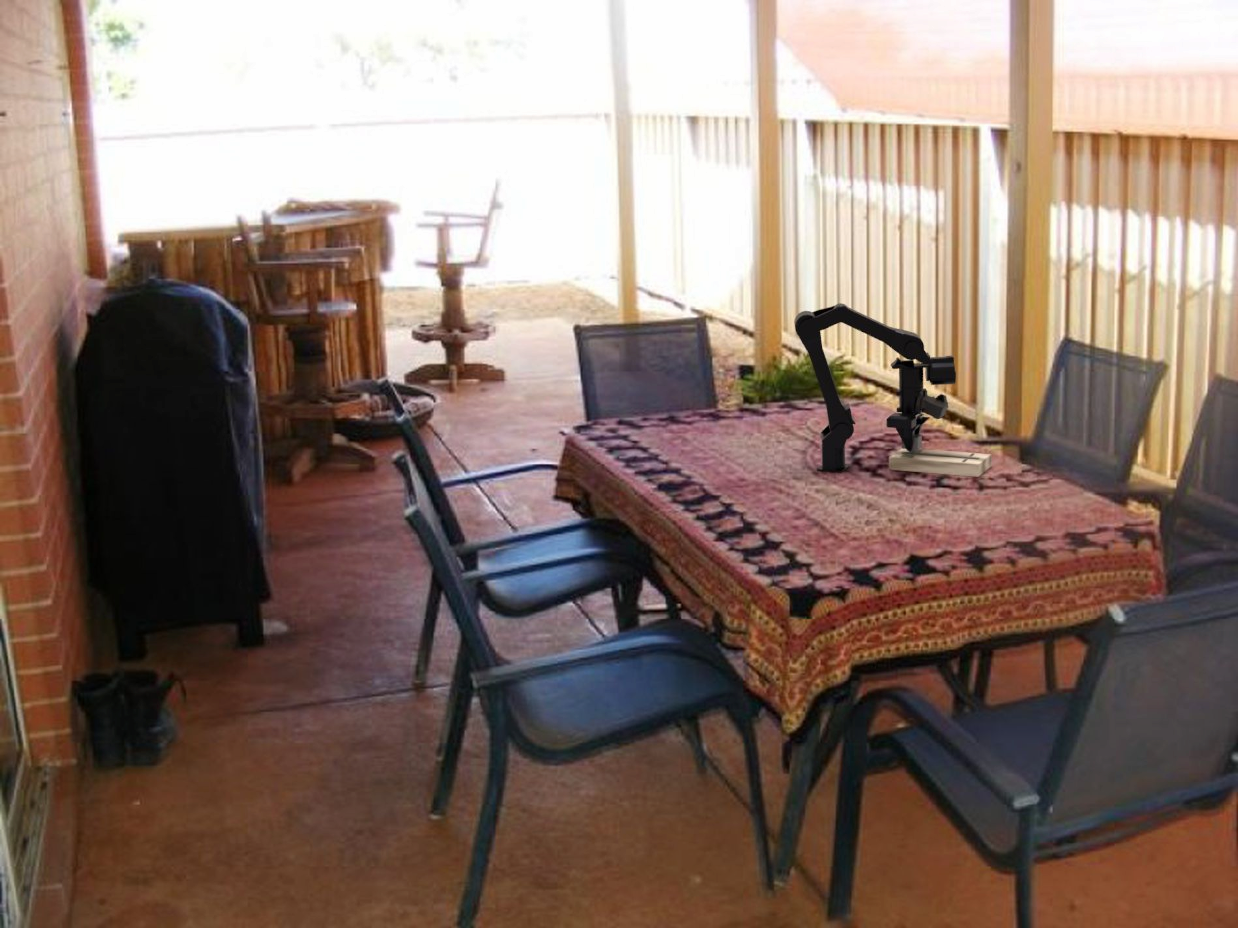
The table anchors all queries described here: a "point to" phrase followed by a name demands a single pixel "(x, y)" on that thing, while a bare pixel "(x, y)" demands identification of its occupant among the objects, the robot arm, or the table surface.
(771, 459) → the table surface
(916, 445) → the fader knob
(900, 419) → the robot arm
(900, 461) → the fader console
